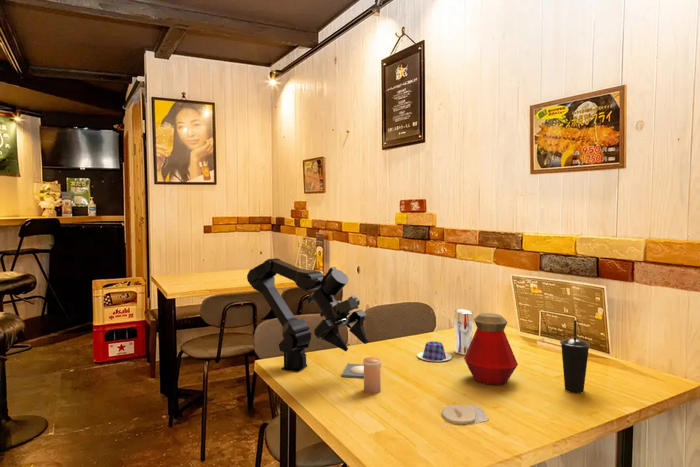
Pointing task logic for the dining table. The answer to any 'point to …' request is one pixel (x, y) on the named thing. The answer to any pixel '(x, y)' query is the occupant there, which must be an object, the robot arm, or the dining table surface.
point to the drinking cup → (574, 362)
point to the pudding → (434, 352)
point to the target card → (354, 371)
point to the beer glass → (463, 330)
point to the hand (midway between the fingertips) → (356, 346)
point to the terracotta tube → (372, 375)
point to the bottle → (490, 351)
